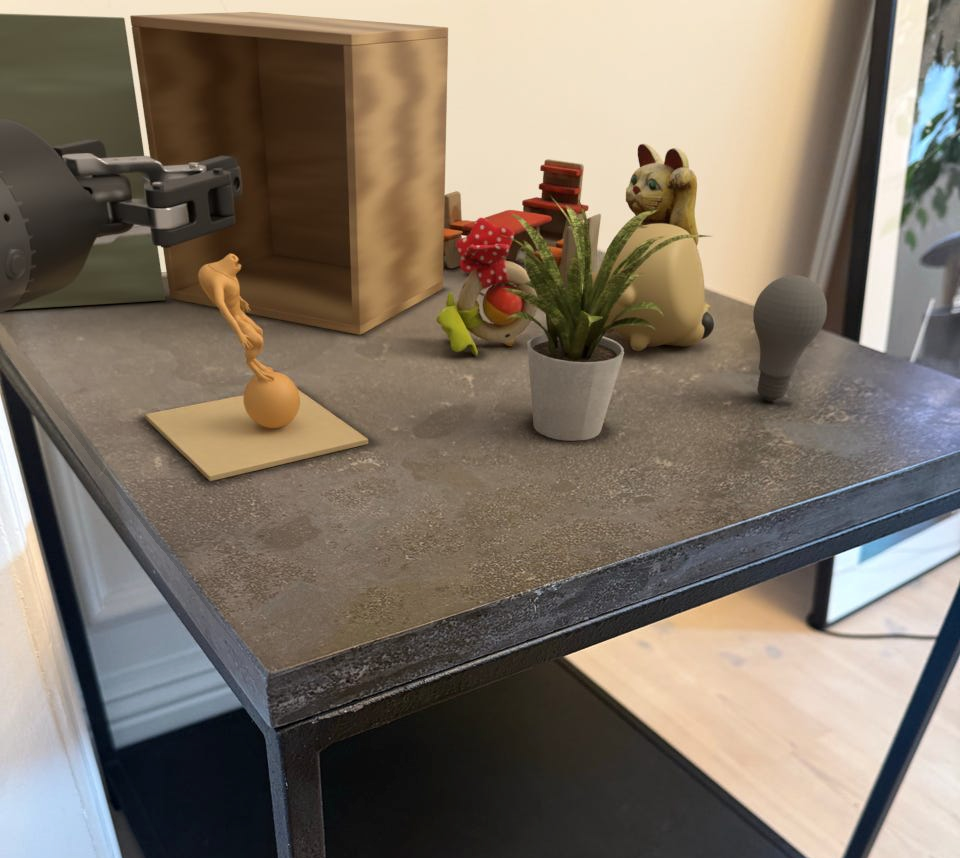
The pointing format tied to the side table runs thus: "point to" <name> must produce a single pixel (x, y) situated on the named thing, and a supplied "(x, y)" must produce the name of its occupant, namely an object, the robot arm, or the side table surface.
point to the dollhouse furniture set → (533, 218)
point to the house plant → (578, 327)
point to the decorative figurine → (664, 189)
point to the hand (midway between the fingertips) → (166, 168)
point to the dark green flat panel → (81, 131)
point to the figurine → (250, 348)
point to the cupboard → (306, 156)
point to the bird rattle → (487, 268)
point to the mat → (250, 436)
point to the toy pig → (663, 291)
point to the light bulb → (786, 329)
